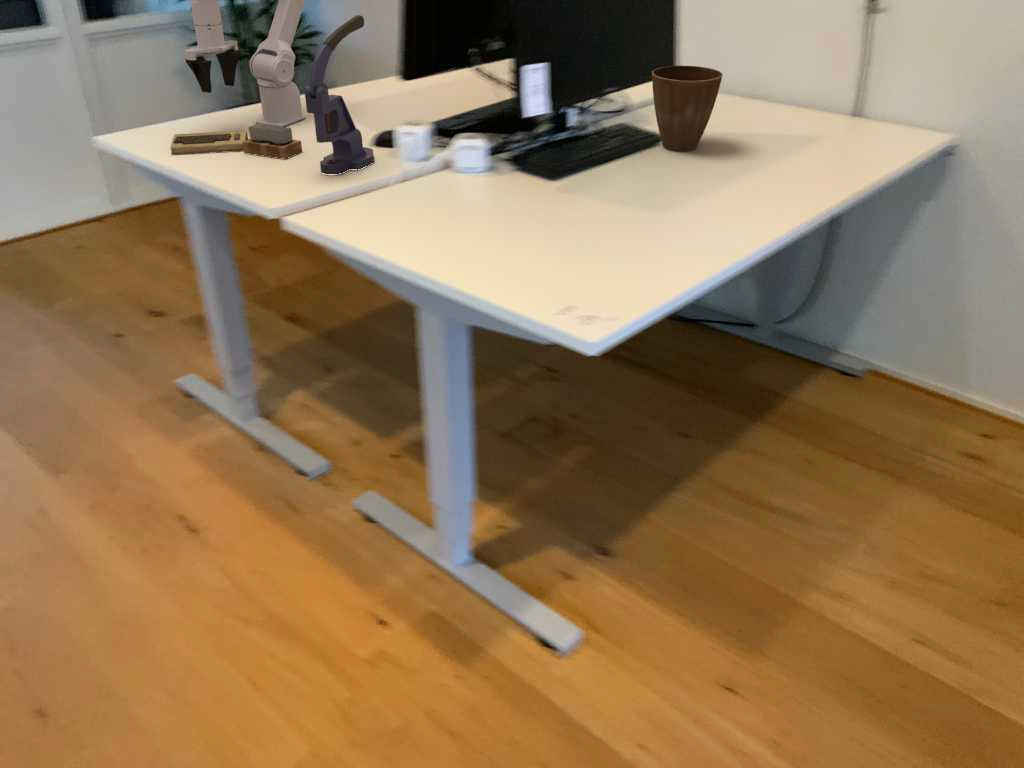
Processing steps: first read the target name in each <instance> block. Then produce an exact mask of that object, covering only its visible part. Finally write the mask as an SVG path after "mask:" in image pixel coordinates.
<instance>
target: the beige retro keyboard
mask: <svg viewBox="0 0 1024 768" xmlns="http://www.w3.org/2000/svg"><path fill="white" fill-rule="evenodd" d="M248 139H249V136H248V131H247V130H231V131H230V130H229V131H213V132H210V131H209V132H192V133H191V132H190V133H175V134H173V137H172V140H171V144H170V151H171V155H172V156H174V155H175V156H176V155H193V154H194V155H195V153H198V154H210V153H209V152H216V153H224V152H223V151H235V152H243V151H242V150H244V149H243V141H245V140H248Z"/></svg>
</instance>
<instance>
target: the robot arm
mask: <svg viewBox="0 0 1024 768" xmlns="http://www.w3.org/2000/svg"><path fill="white" fill-rule="evenodd" d="M189 1H190V7H191V11H192V18H193V24H194V31H195V37H196V42H197V45H195V46H193V47H191V48H188V49H185V50H184V53H185V63H186V65H187V66H188V67H189V69H190V70H191V71H192V73H193V75H194V76H195V79H196V80H197V83H198V85H199V87H200V90H201V92H202V93H209V94H210V93H212V82H211V81H212V80H211V66H212V60H206V58H205V57H210V56H214V55H215V57H216V58H217V61H218V63H219V66H220V69H221V74H222V79H223V83H224V85H225V86H229V87H233V86H235V81H236V80H235V79H236V71H237V67H238V63H239V61H240V60H239V59H240V57H241V52H240V51H239V47H238V41H237V40H232V39H229V40H225V36H224V35H225V34H224V30H223V23H222V17H221V16H222V15H221V10H220V4H219V0H189ZM305 3H306V0H278V3H277V7H276V10H275V13H274V16H273V19H272V22H271V26H270V29H269V32H268V36H267V38H265V40H264V41H262V42H261V43H259V45H258V47H257V50H256V51H255V53H254V54H252V56H251V58H250V59H249V69H250V71H249V72H250V73H251V74H252V76H253V77H254V78H255V79H256V83H257V84H258V89H259V96H260V98H259V99H260V105H261V110H262V115H263V118H262V119H259V120H256V122H255V124H257V123H258V124H266V125H273V126H280V127H286V126H289V125H291V124H294V123H296V122H298V121H301V120H304V119H306V115H303V108H302V102H301V100H302V99H301V94H300V89H299V88H298V86H297V84H296V83H295V82H294V81H293V79H294V76H295V61H296V55H295V53H294V51H293V50H292V44H293V41H294V39H295V35H296V31H297V28H298V25H299V22H300V19H301V16H302V12H303V8H304V6H305Z"/></svg>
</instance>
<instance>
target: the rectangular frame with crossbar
mask: <svg viewBox="0 0 1024 768" xmlns="http://www.w3.org/2000/svg"><path fill="white" fill-rule="evenodd" d="M302 147H303V146H302V140H298V139H293V140H291V141H289V143H288V144H286V145H283V146H276V145H273V142H272V141H267V142H265V143H256V142H254V139H252V138H248V140H245V141H243V149H244V151H243V152H245V153H244V154H246V153H251V154H250V155H253V154H257V155H256V156H259V155H264V156H263V157H265V156H271V157H270V158H272V157H277V158H276V159H278V158H284V159H286V158H288V157H290V158H292V157H294V156H293V155H295V154H297V155H299V154H301V153H300V152H302V153H303V148H302ZM298 153H299V154H298ZM291 156H292V157H291ZM295 156H296V155H295ZM284 159H283V160H284ZM288 159H289V158H288ZM286 160H287V159H286Z"/></svg>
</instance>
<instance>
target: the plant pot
mask: <svg viewBox="0 0 1024 768" xmlns="http://www.w3.org/2000/svg"><path fill="white" fill-rule="evenodd" d="M651 74H652V75H651V78H652V79H651V81H652V95H653V104H654V105H653V106H654V112H655V117H656V118H655V119H656V123H657V127H658V131H659V133H658V134H659V136H660V140H661V143H662V147H663V148H664V149H666V150H668V151H672V150H673V151H674V152H688V151H687V150H691V151H694V150H696V149H697V147H698V145H699V142H700V141H701V139H702V137H703V135H704V133H705V130H706V128H707V126H708V123H709V121H710V118H711V115H712V113H713V111H714V107H715V105H716V104H715V103H716V101H717V97H718V93H719V90H720V87H721V84H722V79H723V72H721V71H720V70H718V69H714V68H710V67H703V66H699V65H698V66H696V65H669V66H668V65H667V66H661V67H658V68H655V69H653V70H652V71H651ZM695 148H696V149H695ZM693 149H694V150H693ZM673 151H672V152H673Z"/></svg>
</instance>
